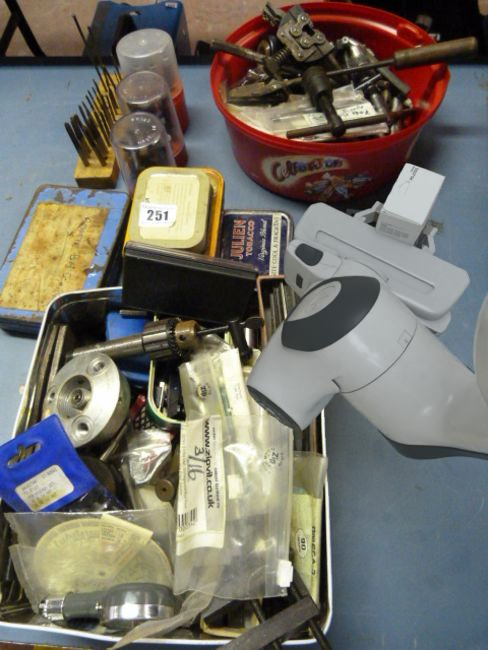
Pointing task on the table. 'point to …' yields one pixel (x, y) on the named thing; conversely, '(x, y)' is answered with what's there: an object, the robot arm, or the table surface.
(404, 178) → the ink box
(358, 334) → the robot arm
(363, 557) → the table surface
